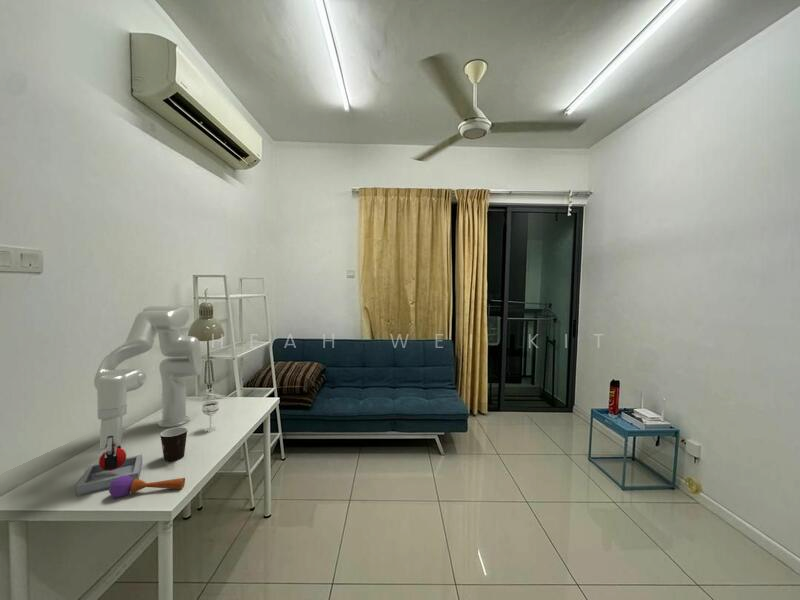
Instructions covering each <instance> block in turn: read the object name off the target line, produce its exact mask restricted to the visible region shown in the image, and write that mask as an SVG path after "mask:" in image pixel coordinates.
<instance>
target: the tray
mask: <svg viewBox="0 0 800 600" xmlns="http://www.w3.org/2000/svg"><path fill="white" fill-rule="evenodd" d="M142 466H143V454H137V455H132V456H126V460H125V462H124V463H123V465H121V466H120V467H119V468H117V469H115V470H111V471H107V470H103V469H102V468H101V467H100V465H99V462H98V463H94V464H93V463H92V464H89V465H87V466H86V469H85V471H84V472H83V475H82V476H81V478H80V480H79V482H78V483H77V486H76V496H77V497H79V496H84V495H88V494H92V493H97V492H100V491H104V490H109V487H110V485H111V483H112V482H113V481H114V480H115V479H116V478H118V477H120V476H126V475H128V476H130V477H132V479H133V480H134V479H135V478H137V479H139V480H140V476H141V471H142Z"/></svg>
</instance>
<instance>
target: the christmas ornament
mask: <svg viewBox="0 0 800 600" xmlns="http://www.w3.org/2000/svg"><path fill="white" fill-rule="evenodd" d="M113 446H115V445H112V447H113ZM112 450H113V451H114V449H112ZM116 455H117V467H116V468H111V469H107V471H111V470H115V469H117V468H119V467H120V466H121V465H123V463H124V462H125V460H126V458H127V452H126V451H125V450H124V449H122V447H121V448H118V447H117V450H116ZM104 458H105V451H104V452H103V453H102V454H101V455H100V457H99V460H98V463H99V465H100V467H101V468H102V469H103V470H105V461H104Z"/></svg>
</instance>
